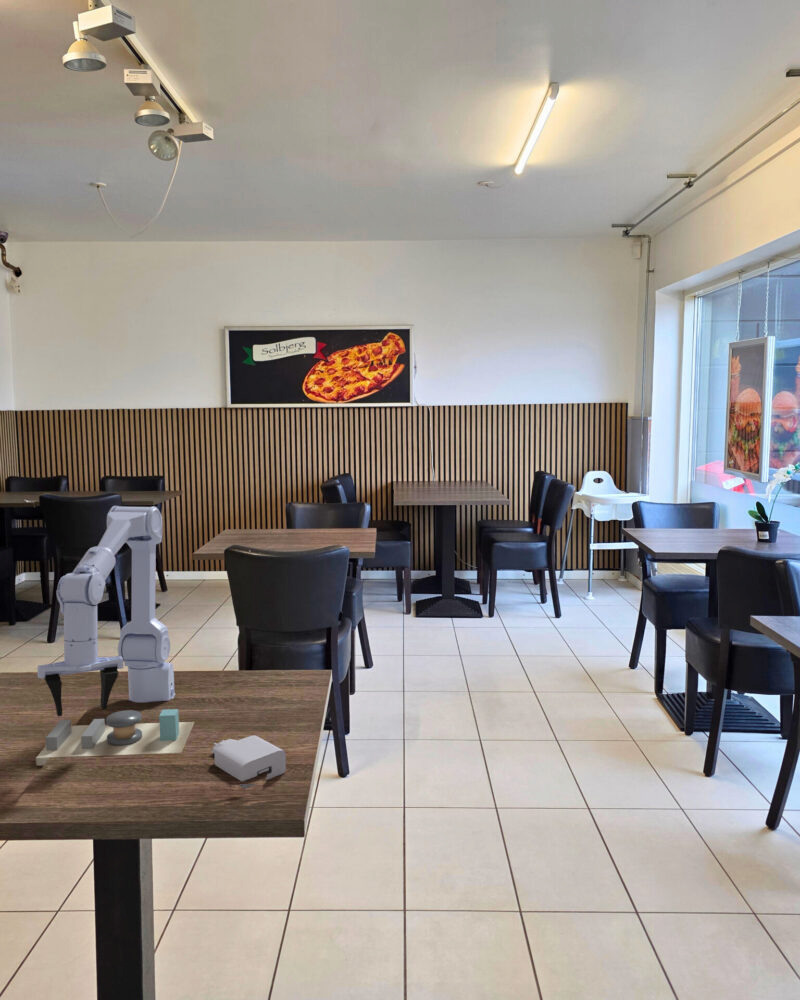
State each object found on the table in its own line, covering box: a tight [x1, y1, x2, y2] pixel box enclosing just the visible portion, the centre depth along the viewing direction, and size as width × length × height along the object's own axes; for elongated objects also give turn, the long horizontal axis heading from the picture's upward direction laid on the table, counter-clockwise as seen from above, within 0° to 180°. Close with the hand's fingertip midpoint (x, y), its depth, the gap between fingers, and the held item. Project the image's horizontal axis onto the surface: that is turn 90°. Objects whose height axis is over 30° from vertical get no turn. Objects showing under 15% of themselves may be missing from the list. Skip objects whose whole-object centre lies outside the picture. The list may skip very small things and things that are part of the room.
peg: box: [158, 708, 180, 741], centre depth 151 cm, size 3×3×5 cm
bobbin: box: [105, 709, 142, 746], centre depth 150 cm, size 6×6×4 cm
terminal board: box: [35, 721, 195, 766], centre depth 150 cm, size 26×14×2 cm, turn 95°
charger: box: [210, 735, 287, 789], centre depth 142 cm, size 5×9×15 cm
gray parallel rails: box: [45, 718, 106, 750], centre depth 150 cm, size 8×8×2 cm
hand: (81, 711), depth 144 cm, fingers open, 7 cm apart
